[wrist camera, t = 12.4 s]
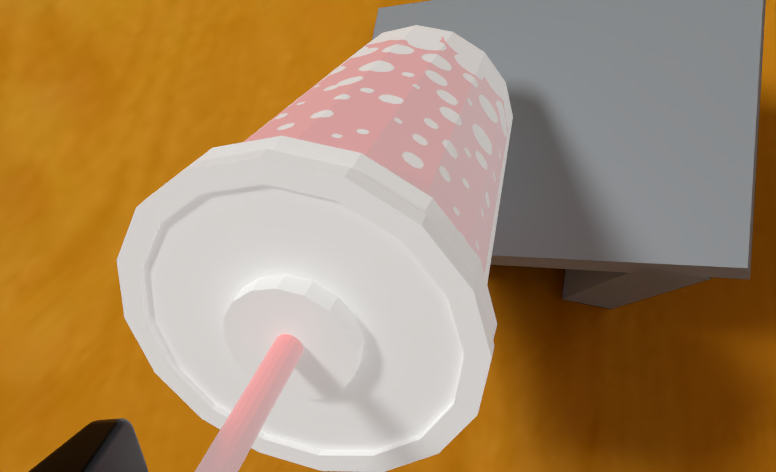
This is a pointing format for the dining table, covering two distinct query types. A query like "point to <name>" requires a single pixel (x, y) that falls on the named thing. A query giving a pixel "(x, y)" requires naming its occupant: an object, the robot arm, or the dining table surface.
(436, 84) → the beverage cup
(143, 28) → the dining table surface
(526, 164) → the ramp
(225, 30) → the dining table surface
